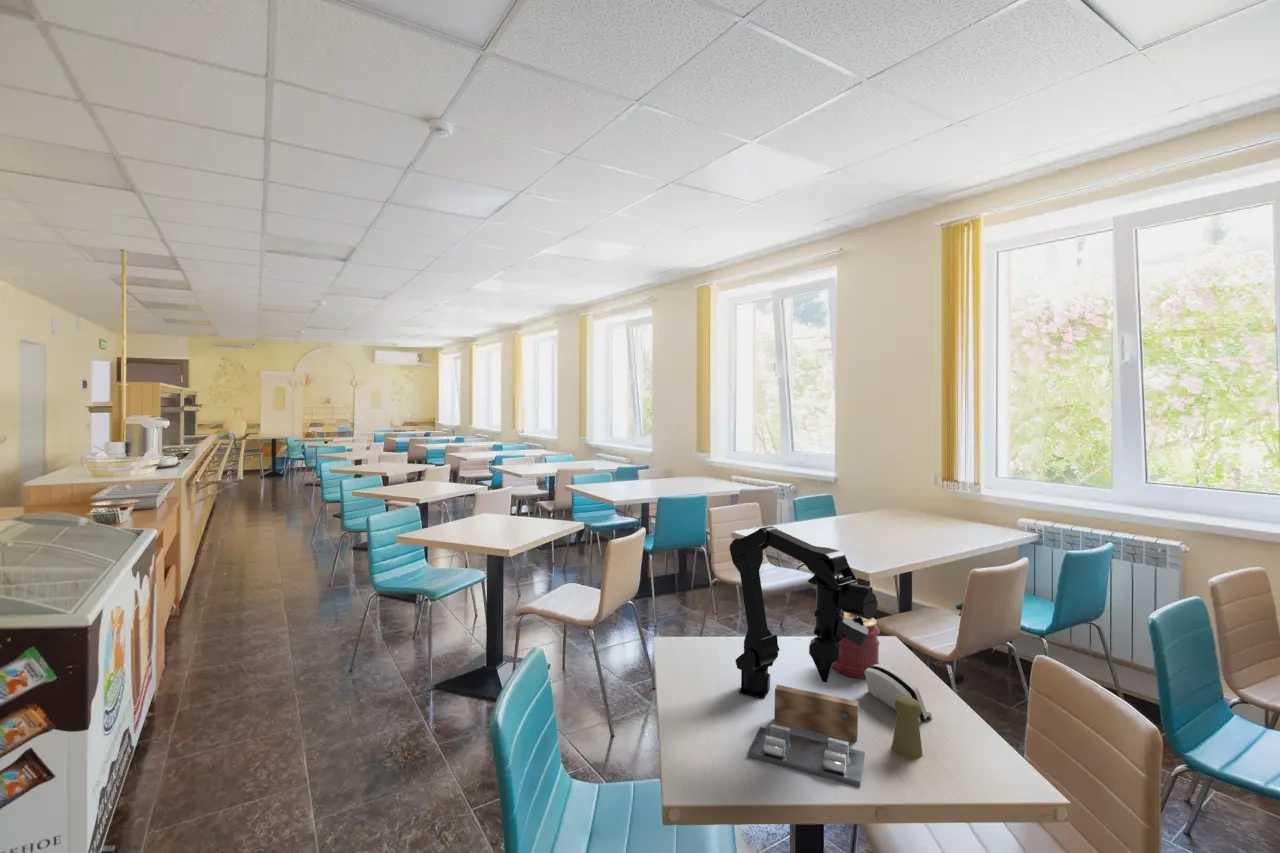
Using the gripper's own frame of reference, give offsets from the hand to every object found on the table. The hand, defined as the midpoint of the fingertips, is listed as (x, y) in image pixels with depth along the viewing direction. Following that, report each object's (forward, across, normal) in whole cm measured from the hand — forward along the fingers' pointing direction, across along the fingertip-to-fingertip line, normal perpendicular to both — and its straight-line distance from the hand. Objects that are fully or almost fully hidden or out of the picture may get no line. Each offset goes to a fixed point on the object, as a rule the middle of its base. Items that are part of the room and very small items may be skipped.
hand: (826, 673), depth 134 cm
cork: (+12, -3, -17) cm, 21 cm away
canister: (+13, +35, -4) cm, 38 cm away
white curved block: (+12, +17, -15) cm, 26 cm away
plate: (+12, -14, +2) cm, 19 cm away
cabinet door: (+12, -2, +2) cm, 13 cm away
